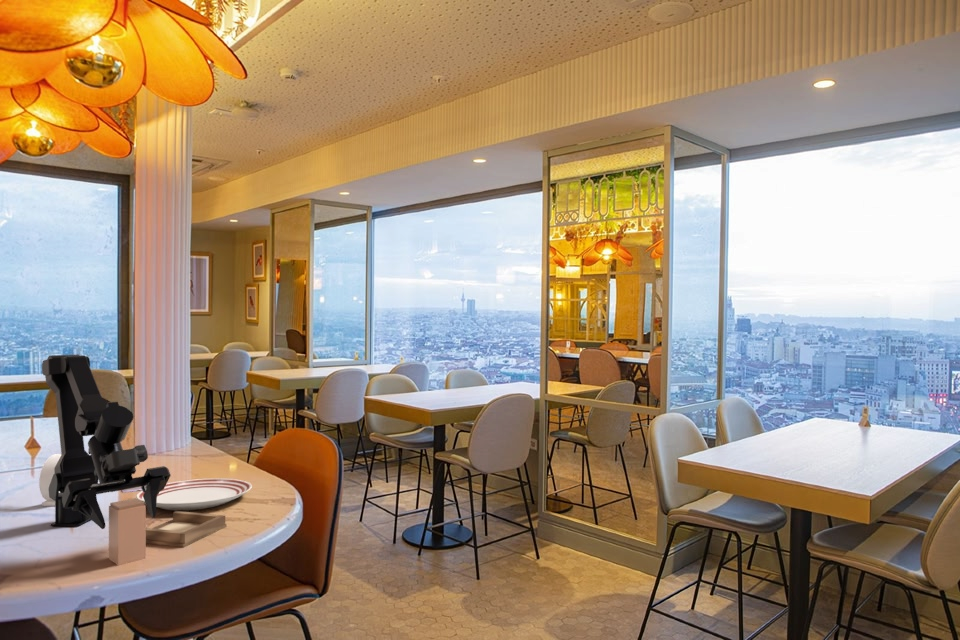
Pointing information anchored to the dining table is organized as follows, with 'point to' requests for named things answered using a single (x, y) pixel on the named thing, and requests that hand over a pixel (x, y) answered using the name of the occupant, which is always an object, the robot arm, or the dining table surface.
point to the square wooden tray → (185, 529)
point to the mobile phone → (132, 490)
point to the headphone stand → (48, 478)
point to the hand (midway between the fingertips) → (129, 522)
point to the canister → (127, 531)
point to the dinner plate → (199, 493)
